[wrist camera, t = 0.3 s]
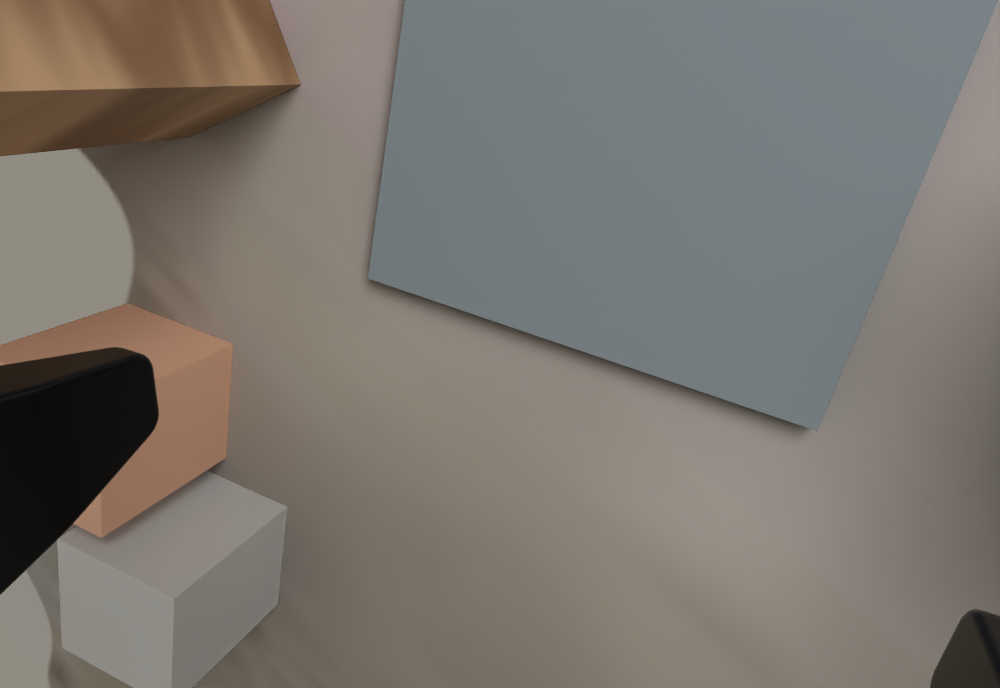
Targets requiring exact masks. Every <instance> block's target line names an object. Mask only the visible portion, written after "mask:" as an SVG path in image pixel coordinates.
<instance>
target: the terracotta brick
mask: <svg viewBox="0 0 1000 688" xmlns="http://www.w3.org/2000/svg"><path fill="white" fill-rule="evenodd" d="M110 347H121V348H125V349H128V350H131V351H134V352H138V353H141V354H143V355H145V356H146V357H148V358H149V360H150V361H151V363H152V366H153V370H154V378H155V385H156V393H157V400H158V407H159V418H158V422H157V425H156V427H155V429H154V431H153V432H152V434H151V435H150V436H149V437H148V439H147V440H146V441H145V442H144V443H143V444H142V445H141V447H140V448H139V449H138V450H137V451H136V452H135V453H134V455H133V456H132V457H131V458H130V459H129V460H128V462H127V463H126V464H125V465H124V466H123V467H122V468H121V470H120V471H119V472H118V473H117V474H116V475H115V477H114V478H113V479H112V480H111V481H110V482H109V483H108V485H107V486H106V487H105V488H104V489H103V490H102V491H101V493H100V494H99V495H98V496H97V497H96V498H95V500H94V501H93V502H92V503H91V504H90V505H89V506H88V508H87V509H86V510H85V511H84V512H83V513H82V514H81V515H80V517H79V518H78V519H77V520H76V521H75V522H74V523H73V524H75V525H77V526H79V527H81V528H83V529H85V530H87V531H89V532H91V533H93V534H95V535H97V536H99V537H101V538H102V537H104V536H105V535H107V534H108V533H110V532H111V531H113V530H115V529H116V528H118V527H119V526H121V525H122V524H124V523H125V522H127V521H129V520H130V519H132V518H133V517H135V516H136V515H138V514H140V513H141V512H143V511H144V510H146V509H147V508H149V507H150V506H152V505H154V504H155V503H157V502H158V501H160V500H161V499H163V498H164V497H166V496H168V495H169V494H171V493H172V492H174V491H175V490H177V489H178V488H180V487H182V486H183V485H185V484H186V483H188V482H189V481H191V480H192V479H194V478H196V477H197V476H199V475H200V474H202V473H203V472H205V471H206V470H208V469H210V468H211V467H213V466H214V465H216V464H217V463H219V462H220V461H222V460H224V459H225V458H226V454H227V437H228V421H229V404H230V387H231V371H232V354H233V344H231V343H229V342H226V341H224V340H221V339H218V338H216V337H213V336H211V335H208V334H206V333H203V332H200V331H198V330H195V329H193V328H190V327H188V326H185V325H182V324H180V323H177V322H175V321H172V320H169V319H167V318H164V317H162V316H159V315H157V314H154V313H151V312H149V311H146V310H144V309H141V308H139V307H136V306H133V305H131V304H128V303H127V304H124V305H121V306H118V307H115V308H112V309H109V310H106V311H103V312H100V313H97V314H94V315H91V316H88V317H84V318H82V319H79V320H75V321H73V322H69V323H67V324H63V325H60V326H57V327H54V328H51V329H48V330H45V331H42V332H39V333H36V334H33V335H30V336H27V337H24V338H21V339H18V340H15V341H12V342H9V343H6V344H2V345H0V365H6V364H12V363H18V362H25V361H31V360H37V359H43V358H49V357H55V356H61V355H67V354H73V353H80V352H86V351H92V350H98V349H104V348H110Z"/></svg>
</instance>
